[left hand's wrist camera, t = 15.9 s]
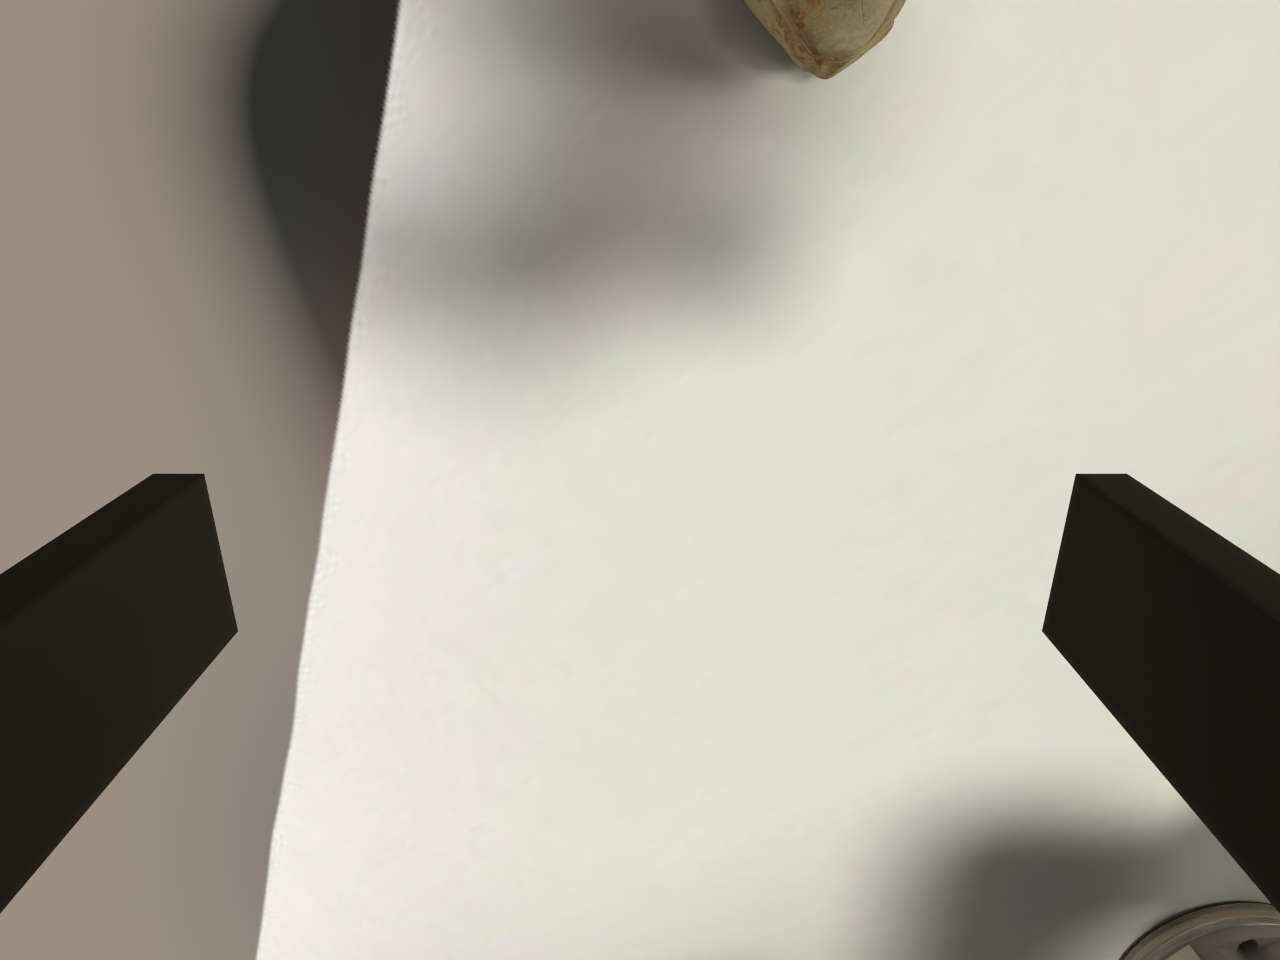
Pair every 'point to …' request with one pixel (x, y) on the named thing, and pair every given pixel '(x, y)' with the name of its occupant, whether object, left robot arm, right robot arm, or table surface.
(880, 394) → the table surface
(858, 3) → the sculpture
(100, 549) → the left robot arm
